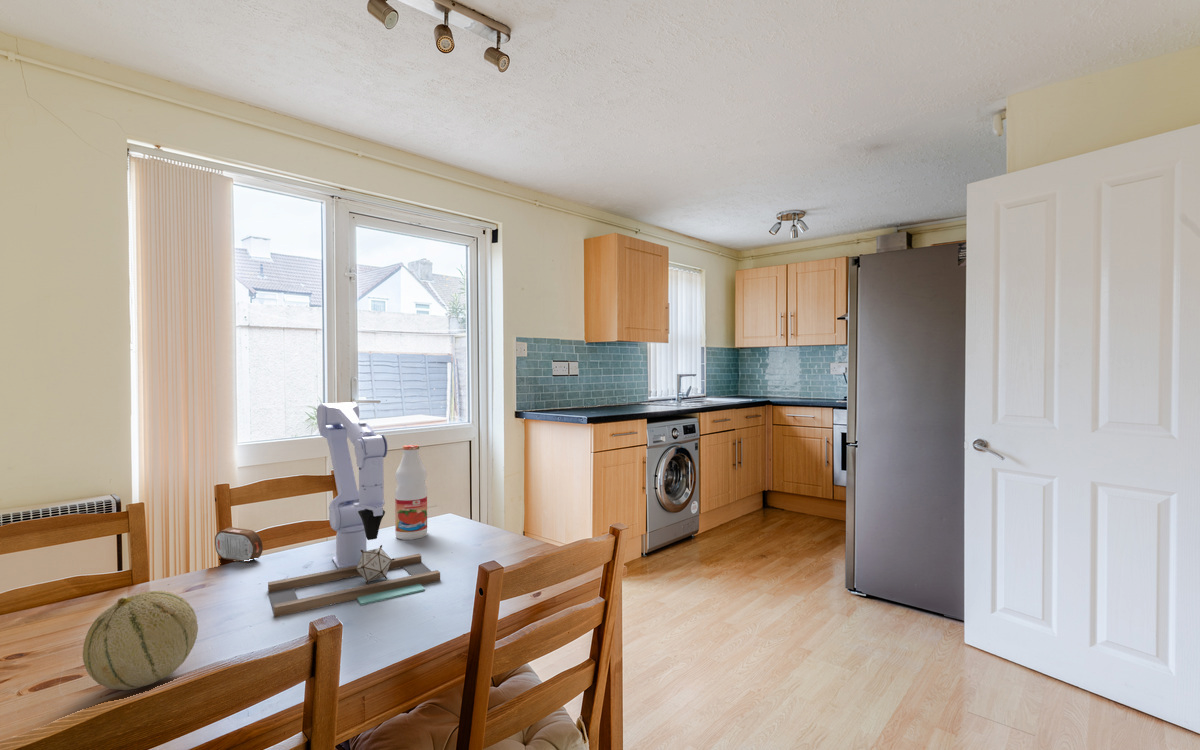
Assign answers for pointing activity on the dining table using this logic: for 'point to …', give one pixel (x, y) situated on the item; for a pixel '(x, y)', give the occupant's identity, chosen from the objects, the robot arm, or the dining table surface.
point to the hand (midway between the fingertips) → (371, 538)
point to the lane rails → (345, 594)
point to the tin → (238, 544)
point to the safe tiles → (390, 594)
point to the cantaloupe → (140, 640)
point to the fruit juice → (410, 496)
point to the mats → (291, 595)
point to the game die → (373, 564)
